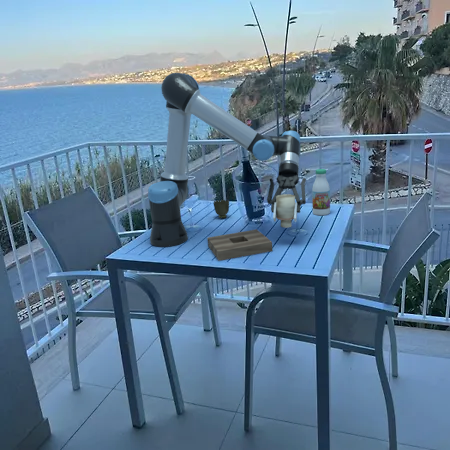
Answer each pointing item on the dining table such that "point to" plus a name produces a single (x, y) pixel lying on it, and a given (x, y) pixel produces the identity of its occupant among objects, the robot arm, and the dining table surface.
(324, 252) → the dining table surface
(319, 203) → the milk bottle
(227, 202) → the cup
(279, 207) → the ash peg
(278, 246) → the dining table surface
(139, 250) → the dining table surface
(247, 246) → the walnut board
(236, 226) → the dining table surface
